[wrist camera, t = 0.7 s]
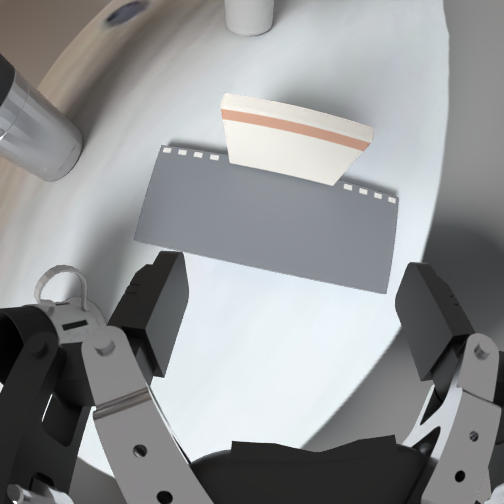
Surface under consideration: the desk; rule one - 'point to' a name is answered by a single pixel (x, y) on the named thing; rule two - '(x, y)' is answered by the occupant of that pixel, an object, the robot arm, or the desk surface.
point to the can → (249, 16)
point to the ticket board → (269, 219)
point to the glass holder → (46, 320)
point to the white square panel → (291, 138)
